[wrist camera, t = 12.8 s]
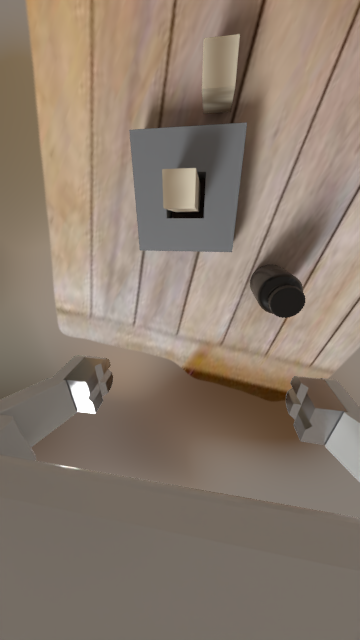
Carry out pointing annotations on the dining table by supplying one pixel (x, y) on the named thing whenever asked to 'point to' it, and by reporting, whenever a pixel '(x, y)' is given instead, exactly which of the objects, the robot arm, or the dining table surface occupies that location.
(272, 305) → the supplement bottle
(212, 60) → the short pin
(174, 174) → the tall pin
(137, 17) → the dining table surface
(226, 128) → the socket block
